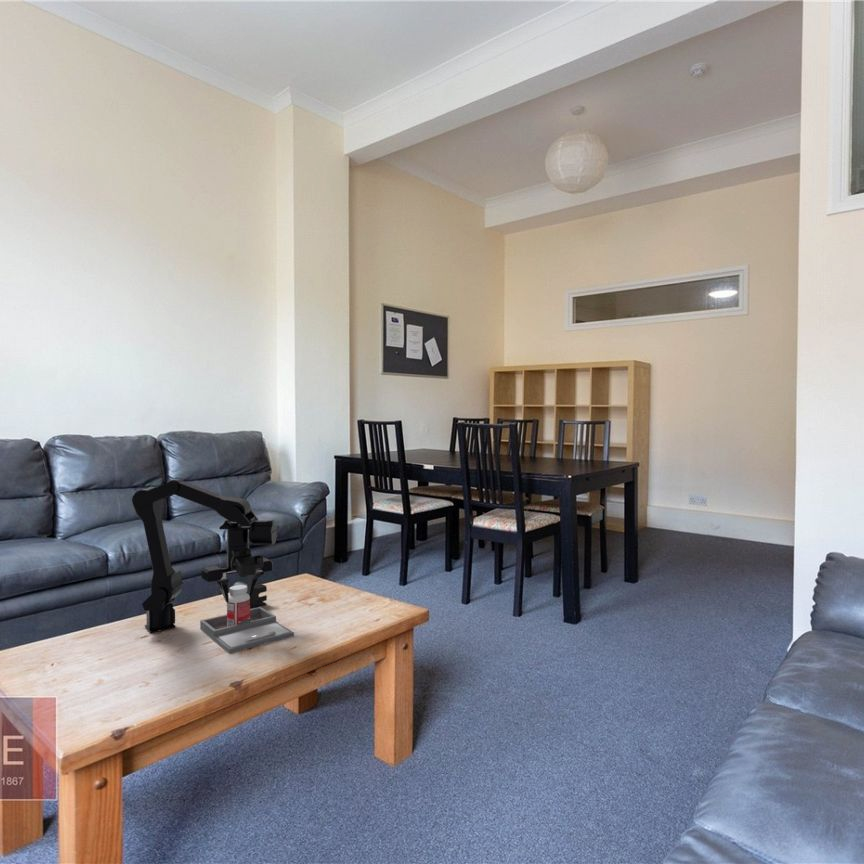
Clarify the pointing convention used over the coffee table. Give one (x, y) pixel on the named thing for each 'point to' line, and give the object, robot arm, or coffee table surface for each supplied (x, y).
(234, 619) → the pill bottle
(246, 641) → the stay rod
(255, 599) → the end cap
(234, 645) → the case lid
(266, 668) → the coffee table surface
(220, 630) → the case
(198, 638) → the coffee table surface
